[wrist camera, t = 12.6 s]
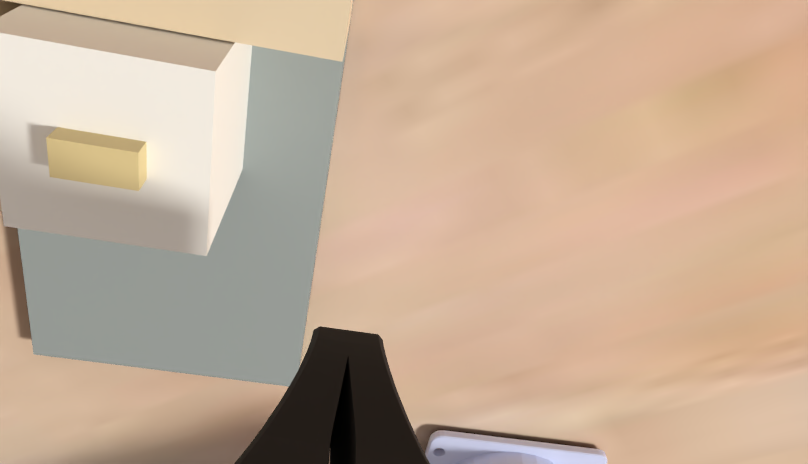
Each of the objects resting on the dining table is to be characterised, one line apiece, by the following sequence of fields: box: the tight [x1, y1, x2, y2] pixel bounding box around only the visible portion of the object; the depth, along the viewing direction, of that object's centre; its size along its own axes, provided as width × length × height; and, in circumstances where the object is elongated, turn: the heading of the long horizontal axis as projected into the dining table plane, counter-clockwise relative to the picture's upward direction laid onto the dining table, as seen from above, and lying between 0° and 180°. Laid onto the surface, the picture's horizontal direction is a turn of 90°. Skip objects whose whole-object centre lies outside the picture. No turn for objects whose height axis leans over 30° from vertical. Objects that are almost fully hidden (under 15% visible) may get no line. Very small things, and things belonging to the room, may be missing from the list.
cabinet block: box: [0, 4, 252, 256], centre depth 18 cm, size 5×5×6 cm
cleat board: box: [0, 0, 354, 386], centre depth 21 cm, size 16×10×4 cm, turn 169°
